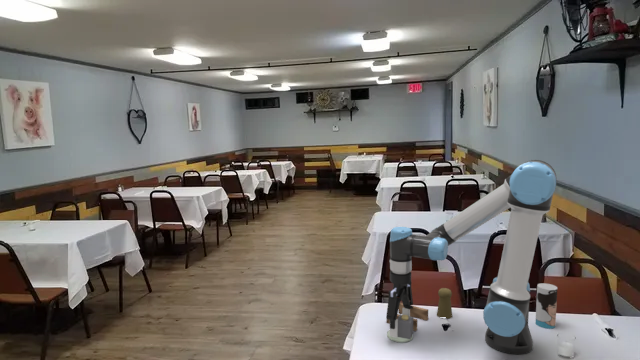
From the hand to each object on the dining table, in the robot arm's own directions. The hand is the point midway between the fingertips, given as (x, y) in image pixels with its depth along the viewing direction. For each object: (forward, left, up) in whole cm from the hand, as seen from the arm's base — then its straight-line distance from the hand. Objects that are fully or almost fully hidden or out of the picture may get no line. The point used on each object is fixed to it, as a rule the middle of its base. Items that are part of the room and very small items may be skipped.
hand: (399, 330), depth 153 cm
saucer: (0, 0, -2) cm, 2 cm away
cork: (-7, -26, -2) cm, 27 cm away
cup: (-41, -40, -2) cm, 57 cm away
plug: (-2, 0, -1) cm, 2 cm away
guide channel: (+3, -13, -2) cm, 14 cm away
